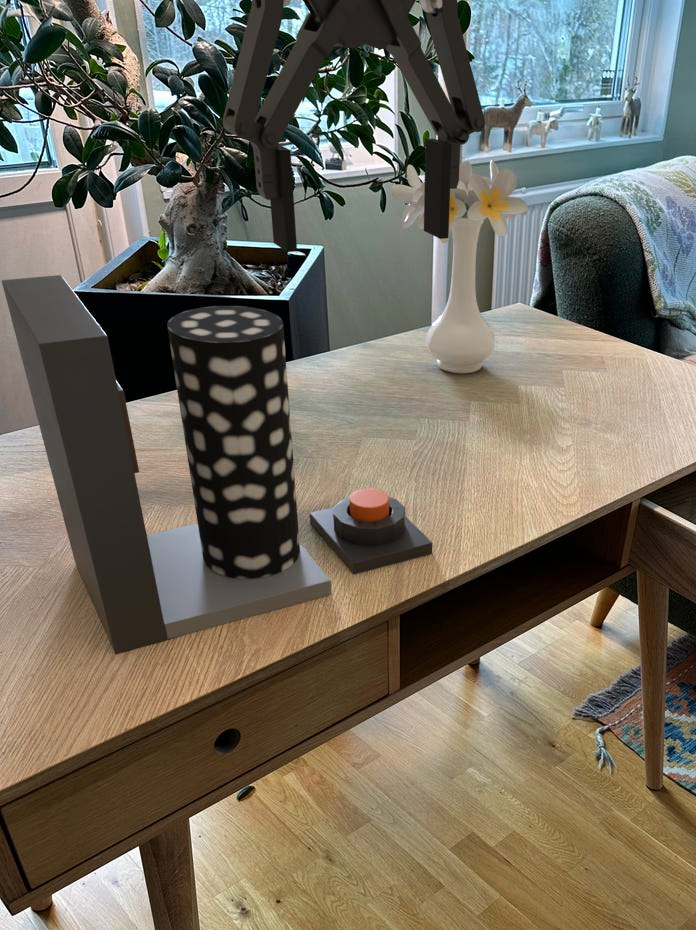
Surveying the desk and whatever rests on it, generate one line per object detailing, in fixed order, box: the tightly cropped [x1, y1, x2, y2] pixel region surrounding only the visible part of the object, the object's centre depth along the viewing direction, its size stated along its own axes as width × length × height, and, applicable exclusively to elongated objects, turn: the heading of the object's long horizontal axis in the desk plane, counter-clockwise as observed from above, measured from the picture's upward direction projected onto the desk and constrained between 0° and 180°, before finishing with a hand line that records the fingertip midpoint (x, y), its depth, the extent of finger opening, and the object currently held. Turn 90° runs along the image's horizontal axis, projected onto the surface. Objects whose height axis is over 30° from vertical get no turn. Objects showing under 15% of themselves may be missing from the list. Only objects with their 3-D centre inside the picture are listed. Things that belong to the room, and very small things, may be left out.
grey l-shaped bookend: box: [1, 274, 333, 654], centre depth 69 cm, size 14×18×24 cm
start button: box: [349, 488, 390, 522], centre depth 81 cm, size 4×4×2 cm
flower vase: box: [390, 160, 528, 374], centre depth 113 cm, size 13×18×25 cm
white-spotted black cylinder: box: [166, 305, 301, 579], centre depth 71 cm, size 8×8×20 cm
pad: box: [309, 496, 434, 575], centre depth 82 cm, size 10×8×3 cm
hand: (363, 241), depth 67 cm, fingers open, 12 cm apart
